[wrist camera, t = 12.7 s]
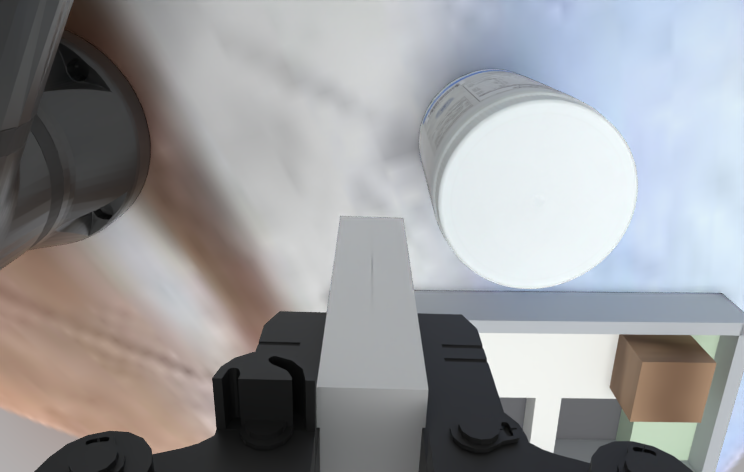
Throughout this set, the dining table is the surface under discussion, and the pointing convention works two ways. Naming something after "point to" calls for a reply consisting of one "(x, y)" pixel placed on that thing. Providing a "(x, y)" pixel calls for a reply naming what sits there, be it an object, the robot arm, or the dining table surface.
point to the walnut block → (661, 378)
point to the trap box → (597, 363)
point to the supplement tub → (525, 179)
